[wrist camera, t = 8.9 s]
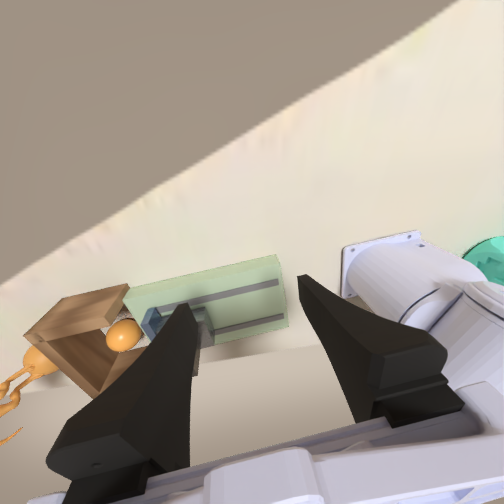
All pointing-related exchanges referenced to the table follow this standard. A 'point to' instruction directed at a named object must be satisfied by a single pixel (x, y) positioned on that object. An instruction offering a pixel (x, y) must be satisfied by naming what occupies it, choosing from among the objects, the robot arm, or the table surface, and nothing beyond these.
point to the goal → (84, 338)
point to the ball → (123, 335)
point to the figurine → (37, 368)
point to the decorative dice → (489, 259)
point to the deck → (221, 298)
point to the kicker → (205, 329)
